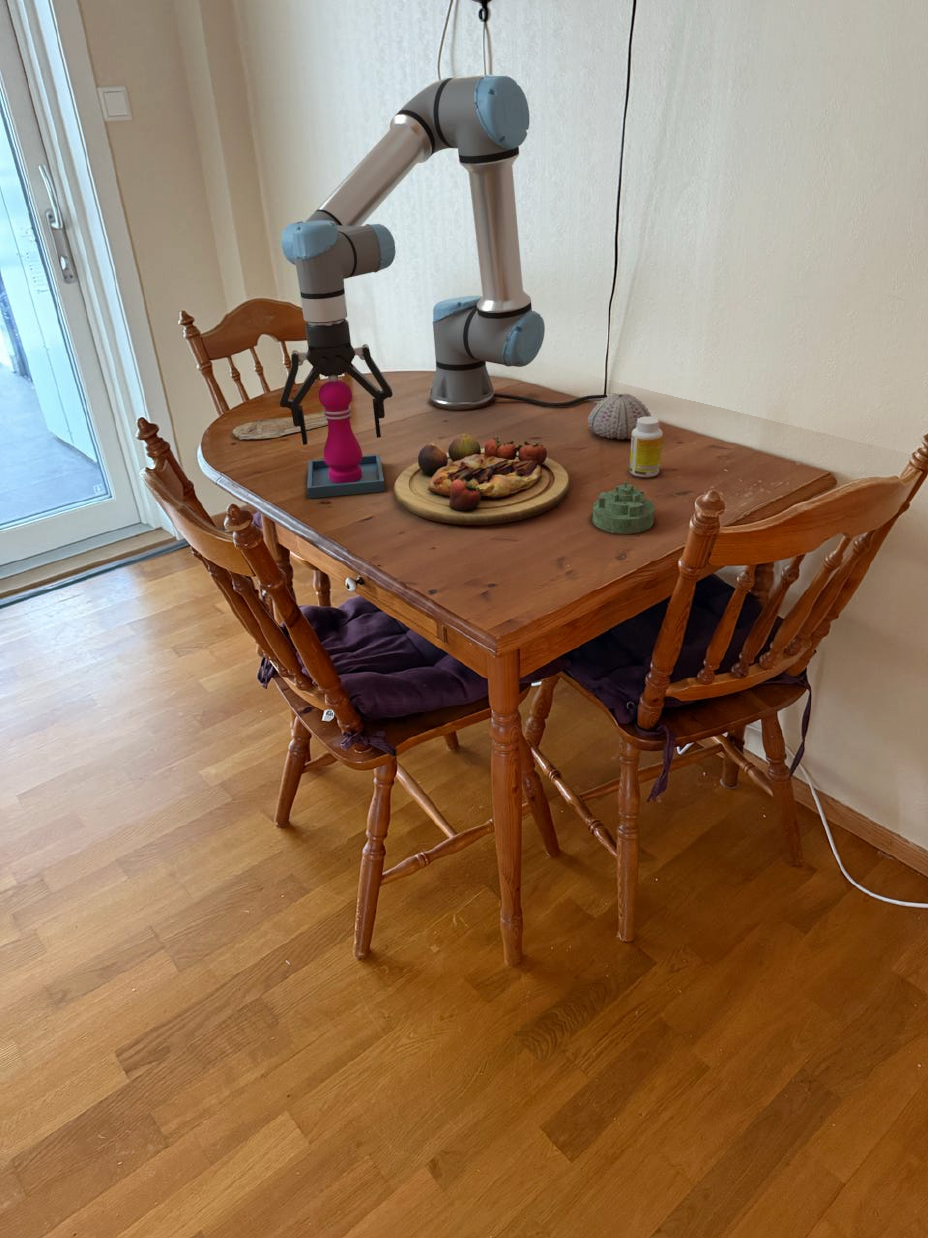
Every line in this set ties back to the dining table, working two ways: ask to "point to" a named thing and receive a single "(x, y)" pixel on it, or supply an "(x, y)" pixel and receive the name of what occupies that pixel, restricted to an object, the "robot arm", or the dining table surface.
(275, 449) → the dining table surface
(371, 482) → the tray
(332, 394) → the pepper mill
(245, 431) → the fish fossil
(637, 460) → the supplement bottle
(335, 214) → the robot arm
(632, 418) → the sea urchin shell
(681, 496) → the dining table surface
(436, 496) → the wooden plate
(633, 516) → the decorative artifact
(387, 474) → the dining table surface
